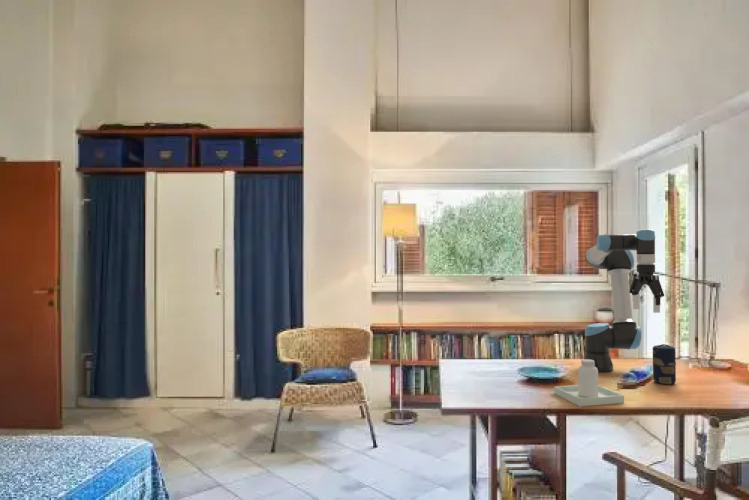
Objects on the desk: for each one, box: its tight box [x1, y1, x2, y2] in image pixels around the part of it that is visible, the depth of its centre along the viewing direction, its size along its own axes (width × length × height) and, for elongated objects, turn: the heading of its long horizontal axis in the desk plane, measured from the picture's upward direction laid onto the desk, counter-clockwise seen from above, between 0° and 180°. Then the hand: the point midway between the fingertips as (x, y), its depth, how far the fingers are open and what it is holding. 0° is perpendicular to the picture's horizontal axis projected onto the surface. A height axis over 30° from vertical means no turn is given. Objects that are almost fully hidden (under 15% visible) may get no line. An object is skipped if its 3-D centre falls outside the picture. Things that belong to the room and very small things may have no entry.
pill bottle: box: [577, 358, 599, 398], centre depth 237 cm, size 8×8×15 cm
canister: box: [652, 343, 677, 385], centre depth 260 cm, size 10×10×18 cm
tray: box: [553, 384, 625, 407], centre depth 237 cm, size 20×20×3 cm
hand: (646, 310), depth 252 cm, fingers open, 13 cm apart
